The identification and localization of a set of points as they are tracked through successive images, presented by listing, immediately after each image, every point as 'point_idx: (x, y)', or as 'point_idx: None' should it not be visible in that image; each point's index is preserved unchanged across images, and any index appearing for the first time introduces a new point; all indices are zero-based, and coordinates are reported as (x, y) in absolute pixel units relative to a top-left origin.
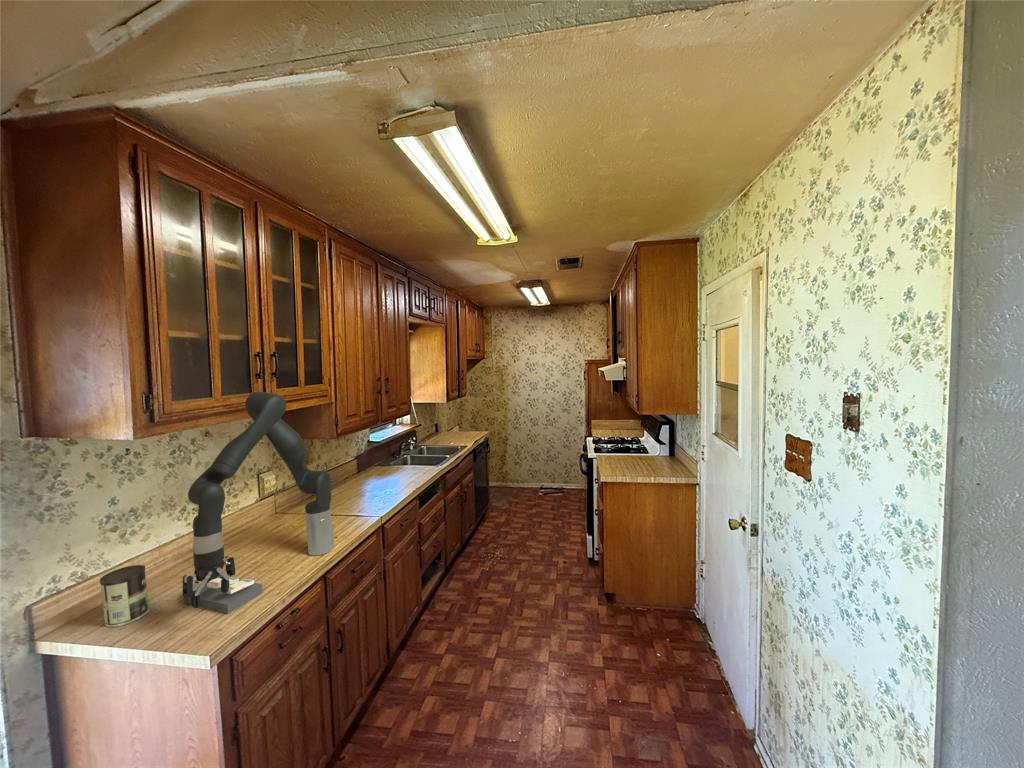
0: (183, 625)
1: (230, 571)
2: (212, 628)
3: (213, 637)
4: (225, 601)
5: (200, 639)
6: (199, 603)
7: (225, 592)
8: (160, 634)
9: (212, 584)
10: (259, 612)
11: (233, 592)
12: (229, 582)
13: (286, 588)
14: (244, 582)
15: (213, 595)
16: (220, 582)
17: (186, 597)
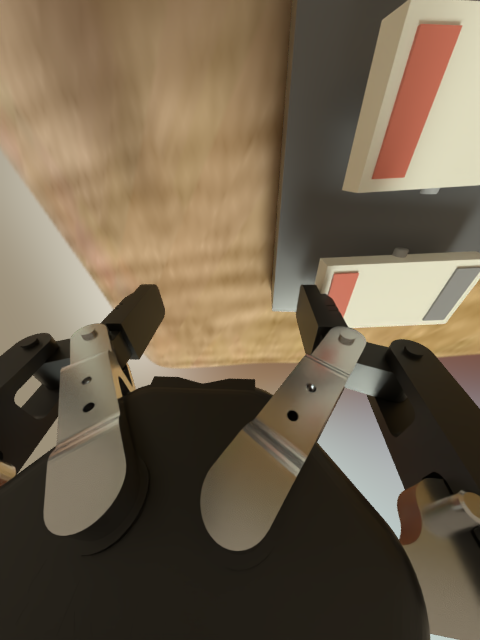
0: (160, 185)
1: (398, 391)
2: (203, 308)
3: (185, 339)
4: (291, 282)
5: (164, 319)
6: (156, 324)
7: (296, 312)
8: (77, 146)
9: (375, 131)
10: (297, 359)
11: None
12: (459, 184)
13: (436, 345)
14: (420, 303)
15: (339, 142)
16: (443, 136)
17: None
